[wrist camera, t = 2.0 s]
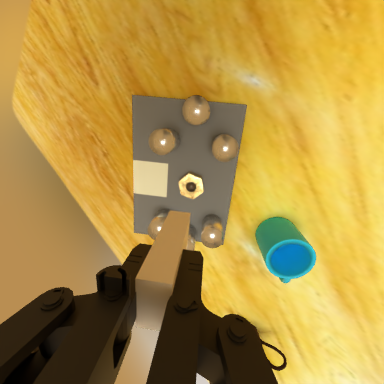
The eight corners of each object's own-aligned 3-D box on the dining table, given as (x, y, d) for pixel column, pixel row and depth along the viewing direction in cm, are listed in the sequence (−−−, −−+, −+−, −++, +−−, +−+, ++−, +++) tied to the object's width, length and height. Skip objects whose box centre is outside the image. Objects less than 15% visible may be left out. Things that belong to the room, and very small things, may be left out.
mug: (254, 218, 39) (264, 241, 32) (296, 215, 38) (317, 237, 30) (257, 265, 43) (266, 296, 35) (295, 264, 42) (313, 295, 34)
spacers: (160, 97, 33) (149, 91, 27) (241, 104, 32) (247, 99, 26) (155, 235, 42) (147, 252, 37) (218, 244, 41) (219, 262, 36)
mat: (133, 95, 34) (132, 94, 33) (246, 105, 32) (246, 104, 32) (135, 231, 43) (134, 232, 43) (222, 243, 42) (222, 244, 41)
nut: (178, 173, 37) (177, 175, 35) (201, 169, 36) (200, 172, 34) (183, 197, 39) (182, 200, 37) (204, 194, 38) (204, 198, 36)
